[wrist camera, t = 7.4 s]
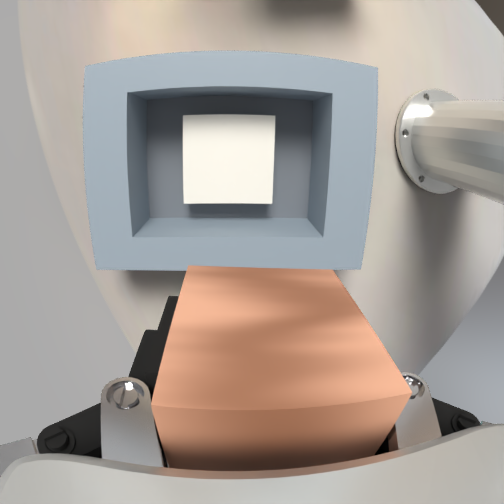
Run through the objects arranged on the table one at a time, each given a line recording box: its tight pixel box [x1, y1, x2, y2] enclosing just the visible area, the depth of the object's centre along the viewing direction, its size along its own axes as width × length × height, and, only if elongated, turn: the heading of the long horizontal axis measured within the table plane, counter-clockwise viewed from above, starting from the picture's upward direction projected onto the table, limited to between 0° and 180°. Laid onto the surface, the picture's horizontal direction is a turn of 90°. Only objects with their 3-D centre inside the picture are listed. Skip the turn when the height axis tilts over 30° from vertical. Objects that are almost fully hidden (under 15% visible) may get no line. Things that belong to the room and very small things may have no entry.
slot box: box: [83, 51, 378, 271], centre depth 26 cm, size 24×18×7 cm
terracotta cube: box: [151, 265, 413, 471], centre depth 9 cm, size 5×5×6 cm
